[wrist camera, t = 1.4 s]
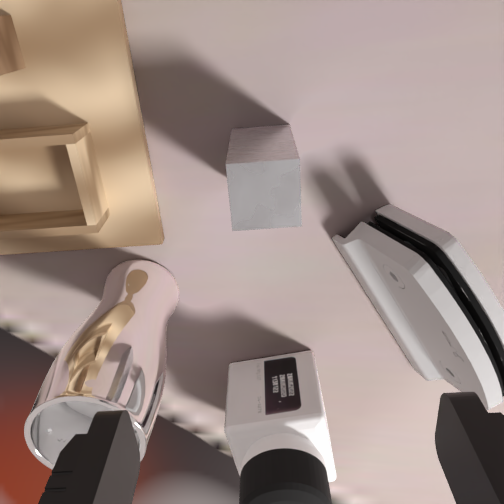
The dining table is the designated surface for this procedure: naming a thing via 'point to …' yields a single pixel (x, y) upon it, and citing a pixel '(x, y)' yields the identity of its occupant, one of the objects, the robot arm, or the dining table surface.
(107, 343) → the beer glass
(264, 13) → the dining table surface
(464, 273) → the card swipe reader
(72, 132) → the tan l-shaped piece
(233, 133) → the brushed grey block
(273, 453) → the container
